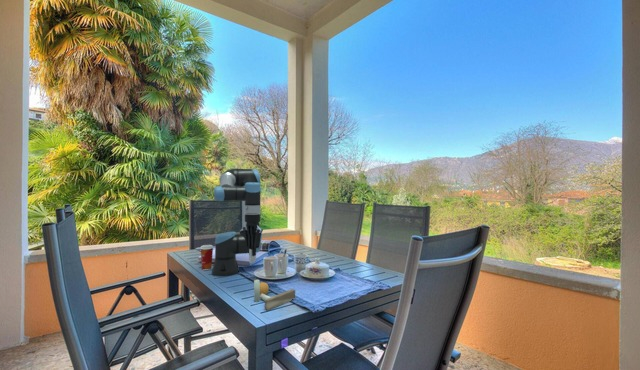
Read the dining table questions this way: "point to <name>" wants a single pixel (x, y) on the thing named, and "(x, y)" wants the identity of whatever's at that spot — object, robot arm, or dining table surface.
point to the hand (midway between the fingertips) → (252, 262)
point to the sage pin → (256, 290)
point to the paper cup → (206, 256)
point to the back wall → (279, 299)
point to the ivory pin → (264, 297)
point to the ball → (264, 288)
